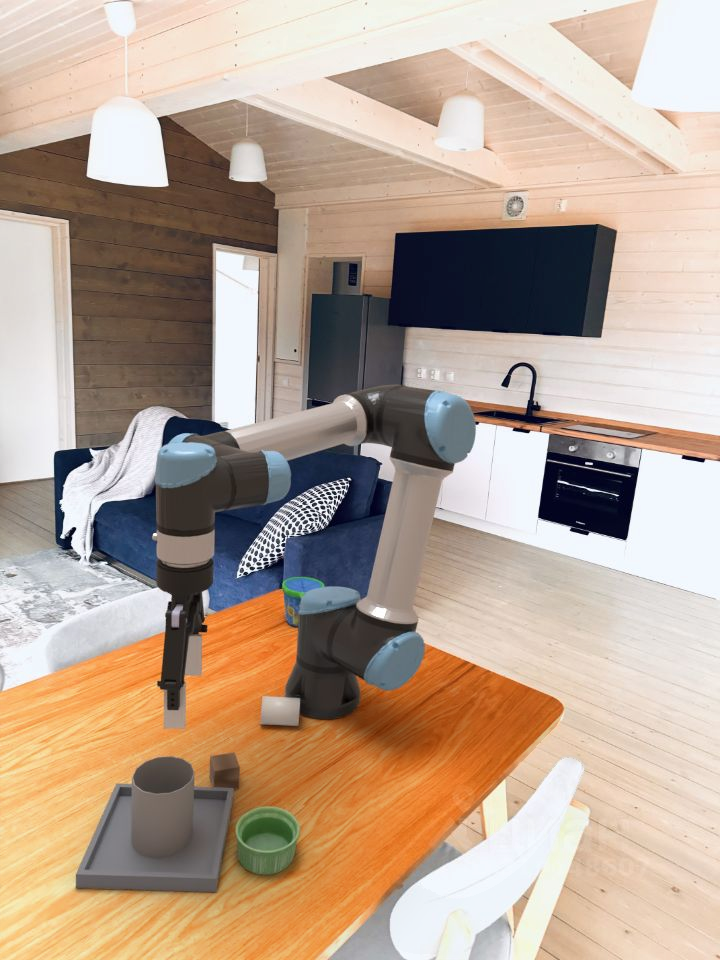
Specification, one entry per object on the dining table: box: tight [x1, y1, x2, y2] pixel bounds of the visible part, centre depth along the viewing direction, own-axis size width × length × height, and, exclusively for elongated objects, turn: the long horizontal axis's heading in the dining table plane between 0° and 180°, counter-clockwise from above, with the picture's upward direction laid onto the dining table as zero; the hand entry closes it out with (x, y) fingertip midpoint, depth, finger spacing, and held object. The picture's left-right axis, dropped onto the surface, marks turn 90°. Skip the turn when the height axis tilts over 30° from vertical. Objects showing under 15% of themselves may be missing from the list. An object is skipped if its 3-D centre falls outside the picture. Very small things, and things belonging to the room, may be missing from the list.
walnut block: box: [208, 751, 241, 790], centre depth 111 cm, size 4×4×4 cm
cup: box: [131, 755, 196, 858], centre depth 98 cm, size 8×8×10 cm
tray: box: [75, 782, 235, 893], centre depth 98 cm, size 18×18×2 cm
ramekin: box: [234, 805, 301, 876], centre depth 97 cm, size 9×9×4 cm
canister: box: [259, 695, 300, 727], centre depth 129 cm, size 7×5×5 cm
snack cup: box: [281, 576, 326, 628], centre depth 173 cm, size 16×10×10 cm
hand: (184, 699), depth 98 cm, fingers open, 13 cm apart
